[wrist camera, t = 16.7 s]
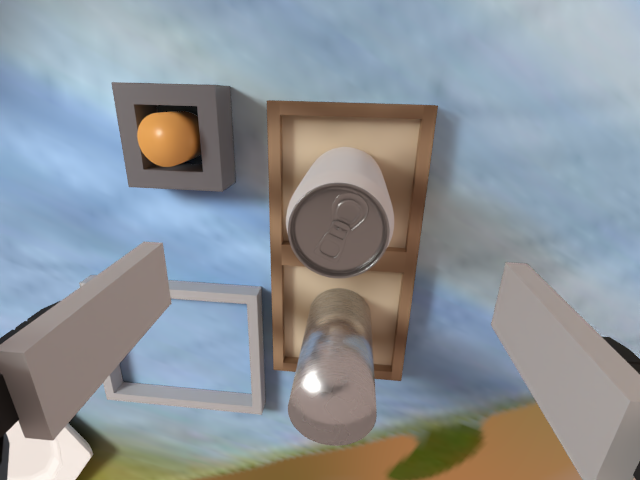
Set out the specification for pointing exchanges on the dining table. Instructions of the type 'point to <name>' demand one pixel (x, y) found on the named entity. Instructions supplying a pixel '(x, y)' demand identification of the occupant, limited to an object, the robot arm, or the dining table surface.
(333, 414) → the billet
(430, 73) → the dining table surface
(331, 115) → the divided wooden tray
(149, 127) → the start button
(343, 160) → the can
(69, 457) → the plate
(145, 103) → the grey square egg holder
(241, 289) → the grey rectangular frame
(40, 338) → the robot arm
